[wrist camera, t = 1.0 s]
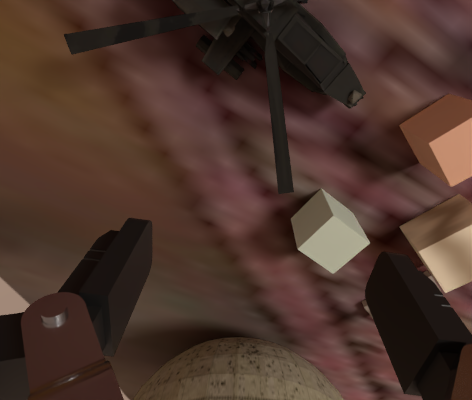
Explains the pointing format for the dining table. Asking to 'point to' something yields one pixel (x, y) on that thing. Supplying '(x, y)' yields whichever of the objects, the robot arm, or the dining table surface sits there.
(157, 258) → the dining table surface
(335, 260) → the sage block
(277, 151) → the helicopter
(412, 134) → the terracotta block
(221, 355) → the celestial globe
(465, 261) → the beech base block
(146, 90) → the dining table surface
